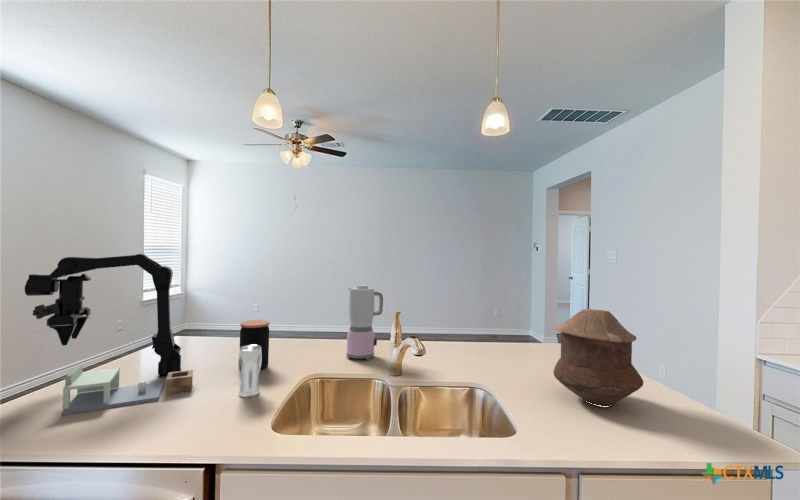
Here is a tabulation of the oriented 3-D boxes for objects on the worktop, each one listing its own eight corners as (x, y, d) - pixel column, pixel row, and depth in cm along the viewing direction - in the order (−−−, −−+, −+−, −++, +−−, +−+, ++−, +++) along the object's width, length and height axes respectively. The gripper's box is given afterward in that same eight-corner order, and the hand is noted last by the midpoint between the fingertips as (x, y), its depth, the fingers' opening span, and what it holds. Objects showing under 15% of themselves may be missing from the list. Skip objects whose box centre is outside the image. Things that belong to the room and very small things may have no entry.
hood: (119, 386, 113) (119, 359, 113) (108, 402, 101) (109, 373, 101) (78, 391, 108) (79, 364, 108) (62, 409, 96) (63, 378, 96)
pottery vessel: (593, 424, 99) (596, 318, 99) (535, 389, 123) (538, 304, 124) (663, 414, 106) (665, 316, 106) (595, 383, 130) (597, 303, 130)
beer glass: (265, 391, 115) (266, 346, 115) (249, 399, 109) (251, 351, 109) (248, 388, 118) (249, 343, 118) (232, 396, 111) (233, 349, 111)
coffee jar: (274, 366, 140) (275, 321, 140) (252, 374, 130) (254, 326, 130) (254, 362, 144) (256, 318, 144) (232, 370, 134) (234, 323, 134)
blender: (343, 360, 149) (345, 286, 149) (348, 352, 161) (350, 283, 161) (380, 362, 149) (382, 287, 149) (382, 353, 161) (384, 284, 161)
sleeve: (192, 384, 120) (192, 369, 120) (191, 391, 114) (191, 376, 114) (167, 387, 116) (168, 372, 116) (165, 395, 110) (166, 379, 110)
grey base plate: (163, 384, 119) (164, 372, 119) (158, 400, 106) (158, 387, 106) (78, 395, 108) (79, 383, 108) (61, 415, 96) (62, 400, 96)
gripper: (49, 292, 120) (47, 337, 120) (23, 299, 103) (22, 352, 103) (91, 291, 125) (90, 334, 125) (73, 298, 109) (72, 348, 109)
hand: (69, 341), depth 115 cm, fingers open, 9 cm apart
